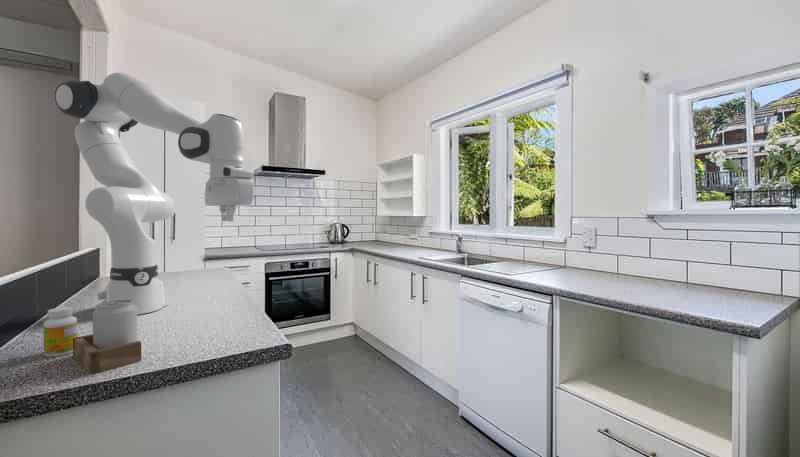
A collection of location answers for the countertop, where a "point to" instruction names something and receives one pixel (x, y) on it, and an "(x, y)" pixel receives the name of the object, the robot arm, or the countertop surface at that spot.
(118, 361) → the corral
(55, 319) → the supplement bottle
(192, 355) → the countertop surface
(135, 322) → the can
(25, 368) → the countertop surface
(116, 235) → the robot arm
